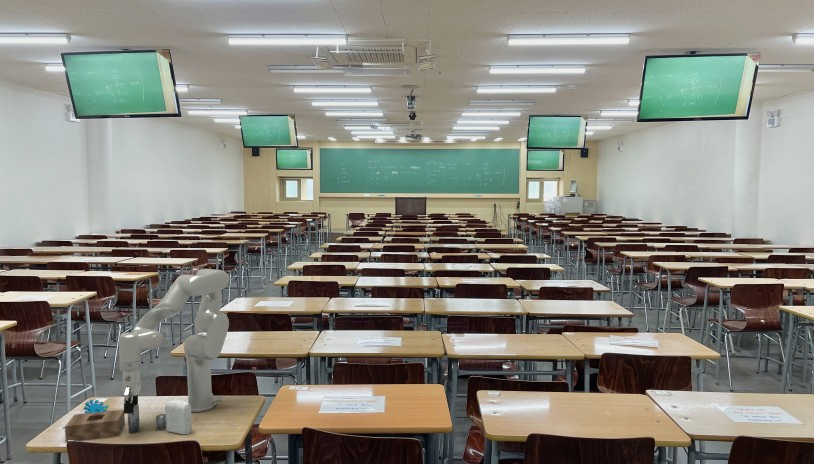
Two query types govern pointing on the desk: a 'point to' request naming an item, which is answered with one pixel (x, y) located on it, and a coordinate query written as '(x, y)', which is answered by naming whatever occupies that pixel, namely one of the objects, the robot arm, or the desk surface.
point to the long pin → (134, 420)
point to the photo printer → (178, 417)
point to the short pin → (161, 422)
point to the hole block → (95, 425)
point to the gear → (95, 407)
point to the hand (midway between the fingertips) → (131, 408)
